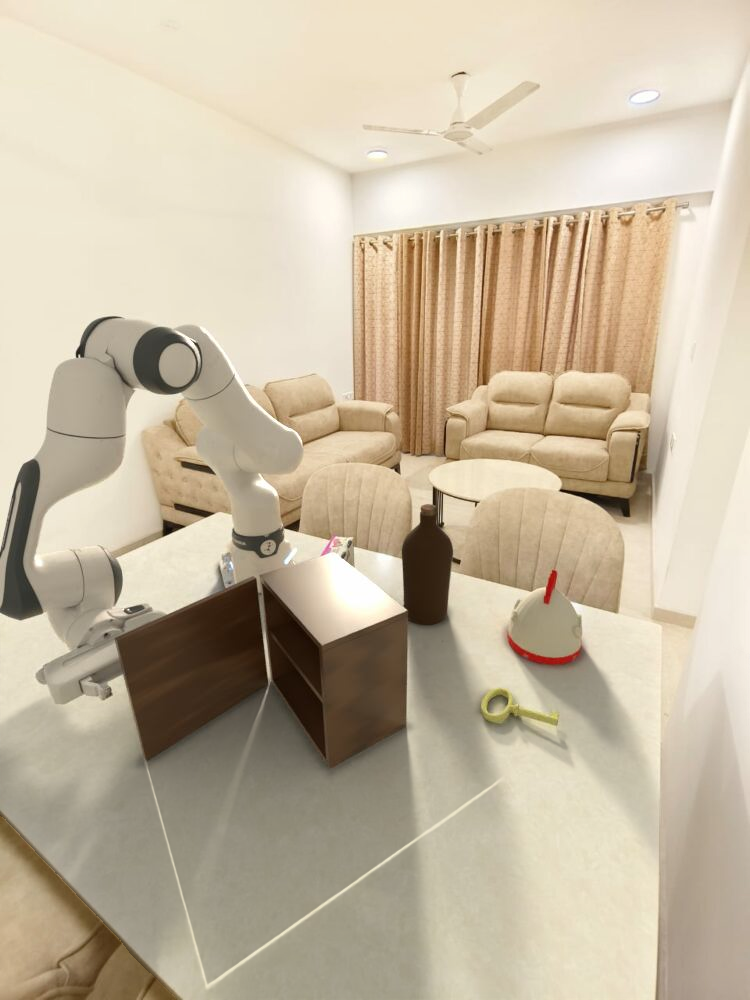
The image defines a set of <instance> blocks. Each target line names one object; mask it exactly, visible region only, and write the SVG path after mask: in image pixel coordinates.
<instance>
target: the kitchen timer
mask: <svg viewBox="0 0 750 1000" xmlns="http://www.w3.org/2000/svg"><path fill="white" fill-rule="evenodd" d="M557 578H558V571H557V570H555V569H551V573H550V574H549V576H548V578H547V579H548V581H547V585H546V586H544V587H540V588H539V587H538V588H536V589H534V590H533V591H531V592H529V593H528V594H526V595H525V596H524V597H523V598H518V599H517V600H516V602H515V604H514V607H513V609H512V611H511V615H510V621H509V623H508V627H507V635H506V637H507V641H508V645H510V647H511V649H512V650H513V651H514V652H516V653H517V654H519V655H520V657H521V656H522V657H523V658H525V659H527V660H529V661H532V662H535V663H538V664H542V665H550V666H557V665H558V666H559V665H565V664H568V663H571V662H573V661H575V659H577V658H578V657H579V655H580V654H581V650H582V643H583V642H582V641H583V640H582V637H583V621H582V620H583V618H582V614H581V613H577V611H576V610H575V607H574V605H573V604H572V601H571V600H570V599H569V598H568V597H567V596H566V595H565V594H564V593H563V592H561V591H560V590H558V589H556V585H557Z"/></svg>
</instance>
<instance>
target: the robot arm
mask: <svg viewBox="0 0 750 1000" xmlns="http://www.w3.org/2000/svg"><path fill="white" fill-rule="evenodd" d="M135 389H138V390H143V391H147V392H150V393H152V394H155V395H163V396H172V395H177V394H181V395H182V397H183V398H184V399H185V401H186V403H187V404H188V405H189V407H190V408H191V410H192V411H193V413H194V414H195V415H196V417H197V419H198V420H199V421H200V423H201V424H202V425H203V426H202V427H201V428H200V429H199V431H198V433H197V435H196V438H195V439H196V440H195V449H196V454H197V456H198V457H199V459H200V460H201V461H202V462H203V463H204V464H205V465H207V466H208V468H210V469H211V470H212V471H213V473H214V474H215V475H216V477H217V478H218V480H219V481H220V483H221V485H222V487H223V489H224V492H225V494H226V496H227V499H228V503H229V507H230V512H231V513H230V514H231V519H232V526H233V527H232V529H231V540H230V542H228V543H227V544H226V546H225V547H226V552H225V553H221V559H220V560H219V561H218V562H219V563H218V565H219V566H218V567H219V569H220V573H221V574H220V575H221V578H222V581H223V585H224V589H225V588H228V587H230V586H232V585H234V584H236V583H239V582H241V581H243V580H245V579H248V578H250V577H252V576H254V577H255V578H256V579H257V588H258V594H261V586H260V577H259V575H261V574H264V573H267V572H270V571H274V570H277V569H280V568H284V567H287V566H290V565H294V564H297V563H296V562H295V561H294V560H293V556H295V554H296V553H297V548H296V547H295V548H294V549H293V550H292V548H291V547H292V546H291V543H290V541H289V540H287V538H285V527H284V523H283V522H282V517H281V505H280V497H279V494H278V492H277V490H276V489H275V488H274V487H273V486H272V485H270V484H269V483H268V482H267V481H266V480H265V479H264V478H263V476H262V475H266V476H279V475H289V474H292V473H294V472H295V471H297V469H298V468H299V467H300V465H301V463H302V461H303V459H304V458H303V457H304V444H303V440H302V438H301V436H300V435H299V433H298V432H297V431H296V430H294V429H292V428H289V427H287V426H285V425H283V423H281V422H279V421H277V420H276V419H275V418H274V417H272V416H271V415H270V414H269V413H268V412H267V411H266V410H265V409H263V408H262V407H261V406H260V405H259V404H258V403H257V402H256V401H255V400H254V398H253V397H252V396H251V395H250V393H249V391H248V390H247V388H246V387H245V385H244V383H243V382H242V380H241V378H240V376H239V375H238V373H237V372H236V370H235V368H234V366H233V364H232V362H231V360H230V359H229V357H228V356H227V354H226V353H225V352H224V350H223V349H222V348H221V346H220V344H219V343H218V342H217V341H216V340H215V338H214V337H213V336H212V335H211V334H210V333H209V331H208V330H206V329H205V328H204V327H202V326H200V325H198V324H195V323H193V324H192V323H187V324H181V325H178V326H176V327H174V328H172V327H168V326H163V325H159V324H157V323H154V322H151V321H147V320H143V319H134V318H125V317H122V316H116V315H110V316H103V317H102V316H101V317H99V318H96V319H94V320H92V321H91V322H90V323H89V324H88V325H87V326H86V328H85V329H84V331H83V333H82V334H81V338H80V340H79V345H78V347H77V348H76V350H75V357H74V358H70V359H67V360H64V361H61V363H59V364H58V365H57V366H56V368H55V370H54V372H53V375H52V380H51V384H50V389H49V394H48V399H47V409H46V431H45V436H44V437H45V438H44V439H43V442H42V445H41V446H40V448H39V450H38V451H37V453H36V455H35V456H34V457H33V458H31V459H30V460H28V461H25V462H24V463H22V465H21V467H20V469H19V471H18V473H17V476H16V479H15V482H14V486H13V491H12V494H11V498H10V502H9V507H8V511H7V512H8V513H7V517H6V522H5V527H4V531H3V536H2V540H1V541H2V542H1V545H0V614H2V615H3V616H6V617H8V618H10V619H14V620H15V621H16V620H17V621H20V622H21V621H25V620H28V619H30V618H34V617H37V616H41V615H43V614H45V613H46V616H47V620H48V622H49V625H50V627H51V629H52V630H53V632H54V634H55V635H56V636H57V638H58V639H59V640H61V642H62V643H64V644H65V645H66V647H67V648H68V651H69V652H67V653H64V654H63V655H61V656H58V657H56V658H54V659H52V660H50V661H48V662H47V663H44V665H42V668H40V669H39V670H38V671H36V672H35V678H36V681H37V683H39V684H41V685H46V686H47V689H48V692H49V694H50V695H49V696H50V697H51V699H52V701H53V704H55V705H66V704H68V703H71V702H72V701H74V700H76V699H78V698H80V697H82V696H84V695H85V696H86V697H98V698H99V699H100V700H101V701H102V702H104V701H106V700H107V699H109V698H111V697H112V696H113V695H114V694H113V692H112V691H113V689H112V688H111V685H110V684H109V682H111V681H113V680H115V679H117V678H119V677H120V676H123V672H122V668H121V664H120V660H119V656H118V651H117V647H116V643H115V639H114V638H116V637H118V636H120V635H123V634H125V633H127V632H129V631H132V630H134V629H136V628H138V627H140V626H143V625H145V624H147V623H149V622H152V621H154V620H156V619H158V618H161V617H163V616H165V615H167V614H168V613H166V612H164V611H162V610H154V608H153V607H152V605H151V604H150V603H147V602H146V603H140V604H137V605H133V606H129V607H128V606H127V607H122V608H114V607H115V606H116V605H117V604H118V601H119V599H120V596H121V594H122V591H123V583H124V577H123V570H122V567H121V565H120V563H119V560H118V559H117V558H116V557H115V556H114V554H112V553H111V551H109V550H108V549H106V548H105V547H103V546H101V545H91V546H83V547H76V548H70V549H67V550H60V551H53V552H48V553H47V552H46V553H41V554H37V551H38V547H39V544H40V538H41V533H42V530H43V524H44V520H45V517H46V515H47V513H48V512H49V510H51V508H52V507H54V506H55V505H56V504H57V503H59V502H60V501H62V500H65V499H66V498H67V497H70V496H71V495H74V494H76V493H79V492H81V491H84V490H85V489H89V488H92V487H94V486H96V485H99V484H100V483H102V482H104V481H106V480H107V479H109V478H110V477H112V476H113V474H114V473H115V472H116V471H118V470H119V468H121V465H122V464H123V461H124V457H125V452H126V444H127V409H128V405H129V403H130V400H131V398H132V397H133V395H134V393H135V392H136V390H135Z"/></svg>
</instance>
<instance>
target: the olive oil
mask: <svg viewBox="0 0 750 1000" xmlns="http://www.w3.org/2000/svg"><path fill="white" fill-rule="evenodd" d="M437 519H438V512H437V506H436V505H435V504H429V503H427V504H426V503H425V504H422V505H421V506H420V512H419V523H418V525H416V526H415V527H414V528H413V529H412V530H410V531H409V532H408V533H407V534H406V536H405V537H404V539H403V542H402V545H401V567H402V586H403V607H404V608H405V609H407V610H408V621H411V622H412V623H415V624H418V625H425V626H426V625H435V624H438V623H440V622H442V621H444V620H445V619H446V617H447V616H448V608H449V607H448V605H449V598H450V597H449V596H450V586H451V576H452V568H453V567H452V566H453V558H454V547H453V543H452V540H451V538H450V536H449V535H448V534H447V533H446V531H444V530H443V529H442V528H441V527H440V526H439V525H438V524H437V521H438V520H437Z"/></svg>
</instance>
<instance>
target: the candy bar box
mask: <svg viewBox="0 0 750 1000" xmlns="http://www.w3.org/2000/svg"><path fill="white" fill-rule="evenodd" d="M333 552H334V553H335V554H337V555H338V556H339V557H340V558H342V559H343V560H344V561H346V562H347V563H348V564H349V565H351V566H352V567H353V568H354V569H356V568H355V547H354V537H353V536H351V537H349V536H339V535H333V536H331V538H330V540H329V542H328V543H327V545H326V546H325V548H324V550H323V551H322V553H321V554H320V556H323V555H327V554H330V553H333Z"/></svg>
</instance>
